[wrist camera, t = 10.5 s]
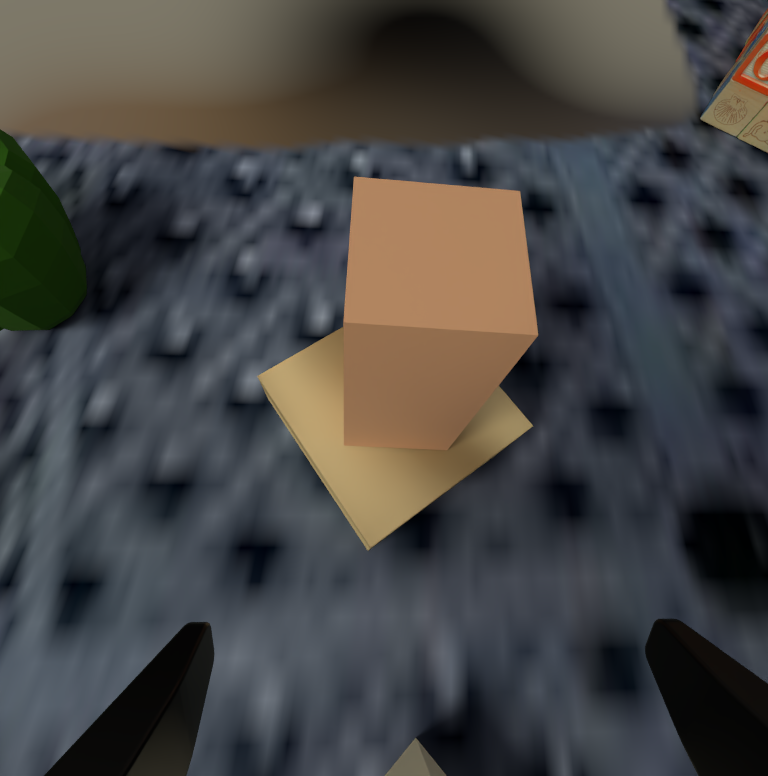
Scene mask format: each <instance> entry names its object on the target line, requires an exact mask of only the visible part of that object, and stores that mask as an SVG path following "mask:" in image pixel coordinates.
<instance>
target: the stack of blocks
mask: <svg viewBox="0 0 768 776" xmlns="http://www.w3.org/2000/svg"><path fill="white" fill-rule="evenodd" d="M700 119H701V120H702V121H704V122H706V123H708V124H710V125H712V126H714V127H716V128H718V129H720V130H723V131H725V132H727V133H729V134H731V135H733V136H736V137H737V138H738V139H740V140H743V141H745V142H747V143H749V144H751V145H753V146H755V147H757V148H759V149H761V150H763V151H765V152H767V153H768V9H767V10H766V12H765V13H764V14H763V16H762V18H761V19H760V21H759V22H758V24H757V26H756V27H755V29H754V30H753V32H752V33H751V35H750V36H749V38H748V39H747V41H746V43H745V47H744V48H743V50H742V52H741V53H740V55H739V57H738V58H737V60H736V63H735V64H734V66H733V67H732V68H731V70H730V71H729V72H728V74H727V75H726V76H725V78H724V79H723V81H722V82H721V84H720V85H719V87H718V88H717V90H716V92H715V93H714V95H713V97H712V99H711V101H710V102H709V104H708V106H707V107H706V109H705V110H704V112H703V114H702V115H701V117H700Z"/></svg>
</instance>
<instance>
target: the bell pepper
mask: <svg viewBox="0 0 768 776" xmlns="http://www.w3.org/2000/svg"><path fill="white" fill-rule="evenodd" d="M86 294H87V283H86V266H85V264H84V261H83V259H82V256H81V249H80V246H79V244H78V241H77V238H76V236H75V233H74V230H73V228H72V226H71V223H70V221H69V219H68V217H67V215H66V213H65V210H64V208H63V206H62V204H61V202H60V199H59V198H58V196H57V195H56V194H55V192H54V191H53V190H52V188H51V187H50V186H49V184H48V183H47V182H46V180H45V179H44V178H43V176H42V175H41V174H40V172H39V171H38V169H37V168H36V167H35V166H34V164H33V163H32V162H31V160H30V159H29V158H28V156H27V155H26V154H25V153H24V151H23V150H22V149H21V147H20V146H19V145H18V144H17V142H16V141H15V140H14V138H13V137H12V136H10V135H8V134H7V133H5V132H4V131H2V130H0V331H1V330H2V329H4V328H5V329H8V330H11V331H18V330H50V329H51V328H53V327H55V326H56V325H58V324H59V323H61V322H63V321H64V320H66V319H67V318H69V317H71V316H72V315H73V314H74V312H75V311H76V309H77V308H78V307H79V305H80V304H81V302H82V301H83V300H84V298H85V297H86Z"/></svg>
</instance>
